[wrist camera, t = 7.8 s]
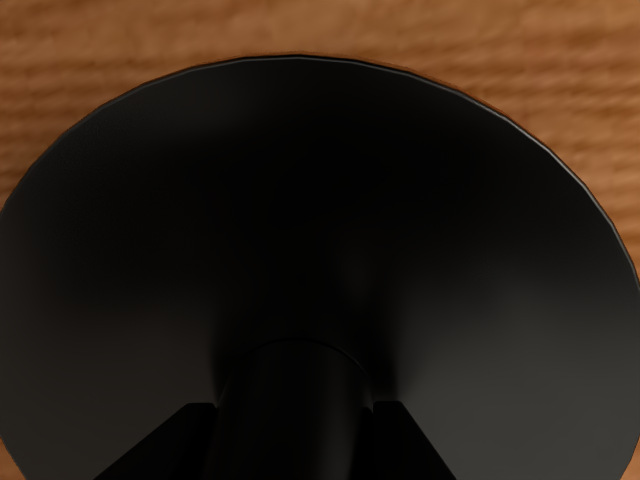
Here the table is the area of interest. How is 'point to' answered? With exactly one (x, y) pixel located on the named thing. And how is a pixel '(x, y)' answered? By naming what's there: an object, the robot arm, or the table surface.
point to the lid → (314, 281)
